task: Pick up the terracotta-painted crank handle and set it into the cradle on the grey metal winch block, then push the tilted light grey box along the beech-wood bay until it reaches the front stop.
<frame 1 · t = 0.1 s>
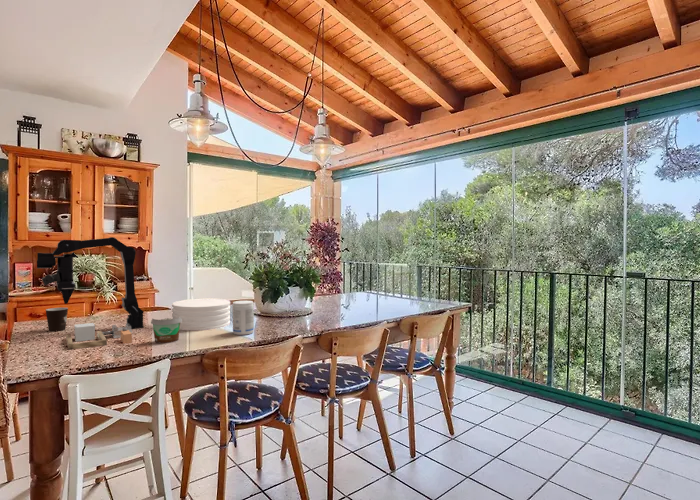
hand: (65, 302, 186), 15 cm above the table, tool pointing down, fingers open, 9 cm apart
winch block: (121, 335, 187), on the table
tilted light grey box: (84, 332, 180), point 3 cm above the table, slide at 0.0 cm
coffee mug: (59, 329, 197), on the table
food container: (167, 342, 177), on the table
supplement tub: (243, 333, 195), on the table
crank handle: (126, 341, 177), on the table
bay: (86, 342, 175), on the table
plate stack: (201, 325, 213), on the table
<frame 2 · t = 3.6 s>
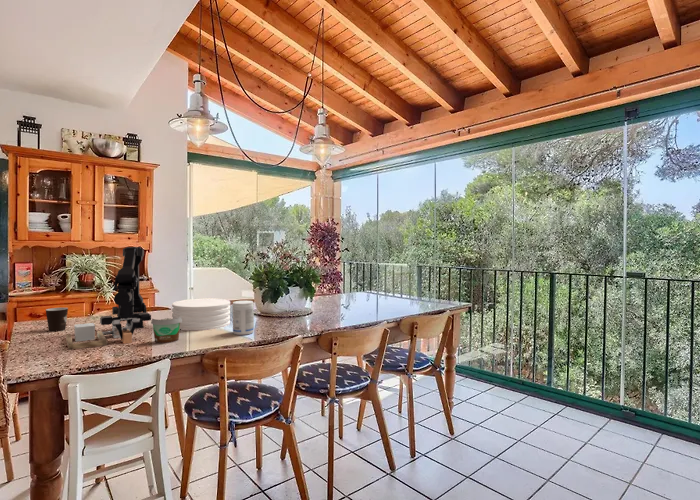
hand: (126, 338, 177), 1 cm above the table, tool pointing down, fingers closed on crank handle, 3 cm apart
crank handle: (126, 341, 177), on the table, touching gripper
everything else where it was.
when the fingers open (5 cm above the table, at t = 6.2 s): crank handle drops 1 cm, resting on winch block.
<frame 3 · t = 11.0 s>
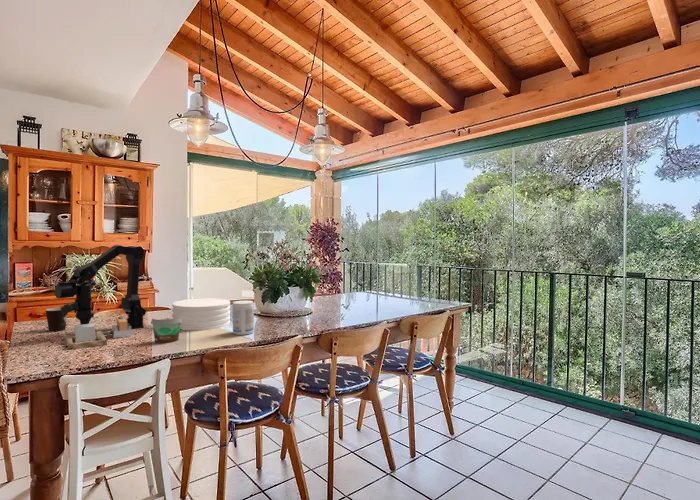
hand: (83, 331, 183), 3 cm above the table, tool pointing down, fingers closed
tilted light grey box: (84, 332, 179), point 3 cm above the table, slide at 1.2 cm, touching gripper
crank handle: (121, 328, 187), point 3 cm above the table, touching winch block
everything else where it was.
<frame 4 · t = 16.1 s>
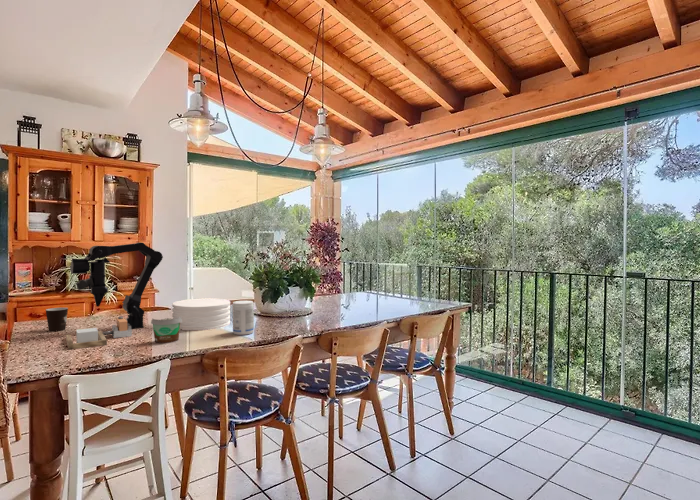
hand: (97, 306, 192), 12 cm above the table, tool pointing down, fingers closed
tilted light grey box: (87, 337, 170), point 3 cm above the table, slide at 12.0 cm
everything else where it was.
at the end: tilted light grey box slide at 12.0 cm; crank handle 0.2 cm off-centre on the winch block, point 3.0 cm above the winch block's base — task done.
